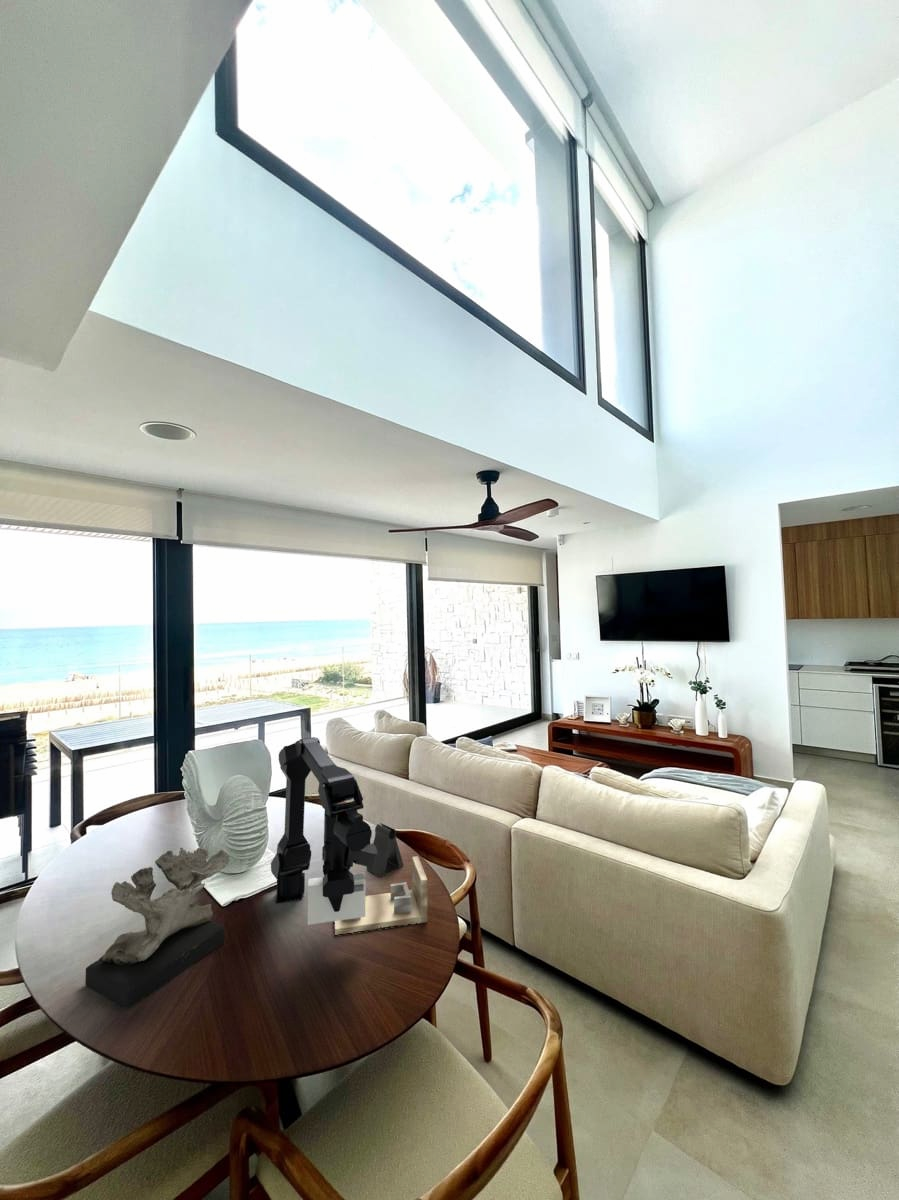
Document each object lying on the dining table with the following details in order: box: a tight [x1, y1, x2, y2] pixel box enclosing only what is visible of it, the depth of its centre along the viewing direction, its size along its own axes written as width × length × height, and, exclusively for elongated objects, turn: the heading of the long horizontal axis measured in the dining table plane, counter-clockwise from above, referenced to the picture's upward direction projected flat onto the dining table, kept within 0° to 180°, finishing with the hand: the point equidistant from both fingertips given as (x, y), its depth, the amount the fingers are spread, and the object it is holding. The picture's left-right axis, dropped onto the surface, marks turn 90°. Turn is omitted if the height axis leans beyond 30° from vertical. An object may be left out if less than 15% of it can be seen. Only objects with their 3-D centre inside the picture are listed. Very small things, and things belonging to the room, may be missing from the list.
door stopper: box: [366, 823, 405, 878], centre depth 145 cm, size 9×6×12 cm, turn 137°
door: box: [307, 871, 367, 926], centre depth 108 cm, size 12×4×8 cm, turn 105°
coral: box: [84, 847, 230, 1010], centre depth 105 cm, size 25×20×22 cm
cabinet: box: [333, 855, 428, 936], centre depth 123 cm, size 22×12×10 cm, turn 105°
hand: (336, 906), depth 108 cm, fingers closed on door, 3 cm apart
